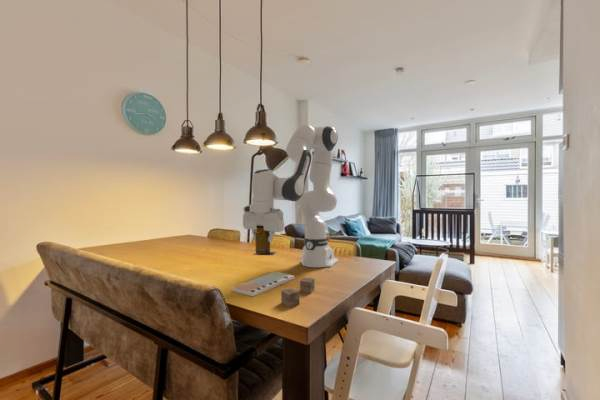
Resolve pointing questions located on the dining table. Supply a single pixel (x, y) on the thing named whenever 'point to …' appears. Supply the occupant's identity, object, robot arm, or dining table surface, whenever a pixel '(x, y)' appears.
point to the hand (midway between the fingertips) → (263, 241)
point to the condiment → (262, 242)
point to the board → (262, 283)
